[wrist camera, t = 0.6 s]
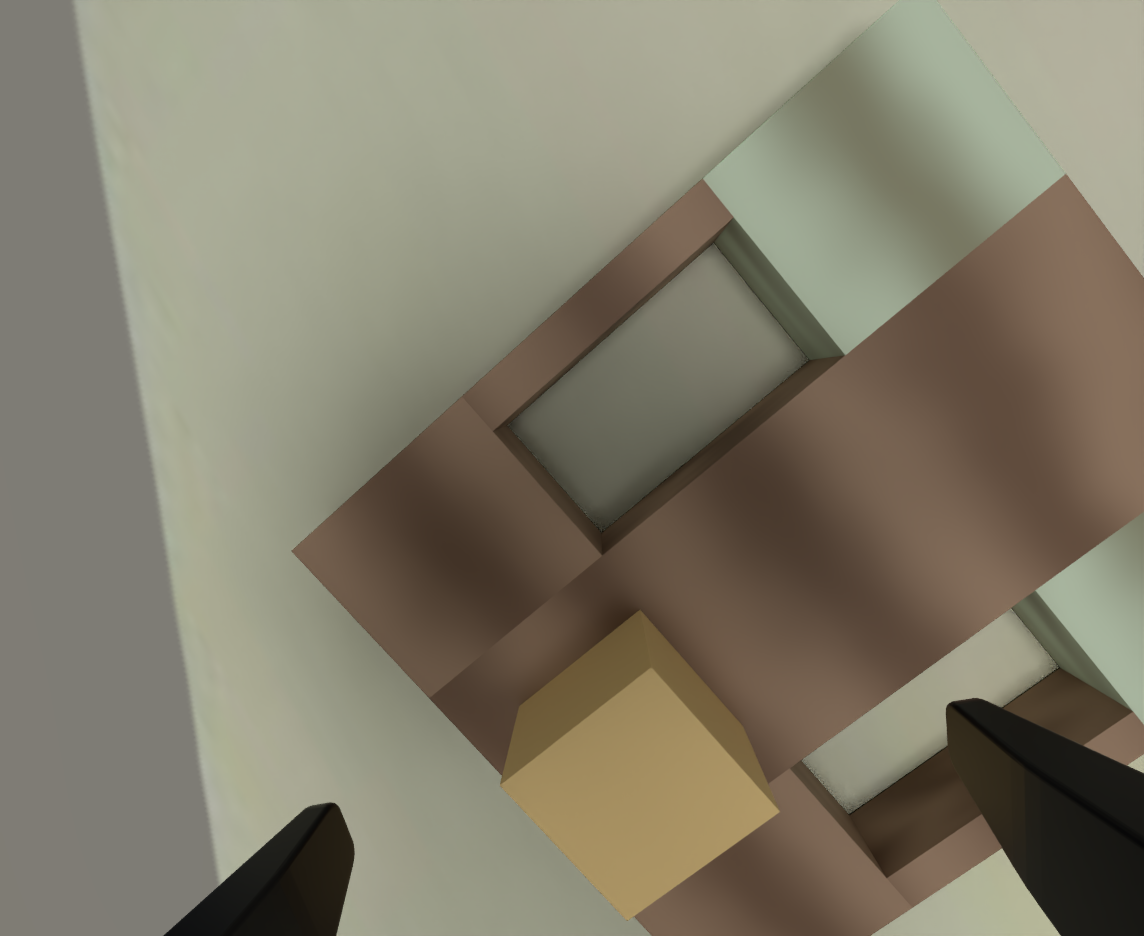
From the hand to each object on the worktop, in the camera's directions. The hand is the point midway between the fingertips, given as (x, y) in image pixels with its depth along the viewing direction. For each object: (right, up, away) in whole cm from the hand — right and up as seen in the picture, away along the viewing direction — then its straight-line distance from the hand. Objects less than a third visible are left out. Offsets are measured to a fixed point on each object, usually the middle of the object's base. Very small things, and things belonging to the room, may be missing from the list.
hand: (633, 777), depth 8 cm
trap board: (+7, +1, +13) cm, 15 cm away
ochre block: (+1, -4, +11) cm, 12 cm away
